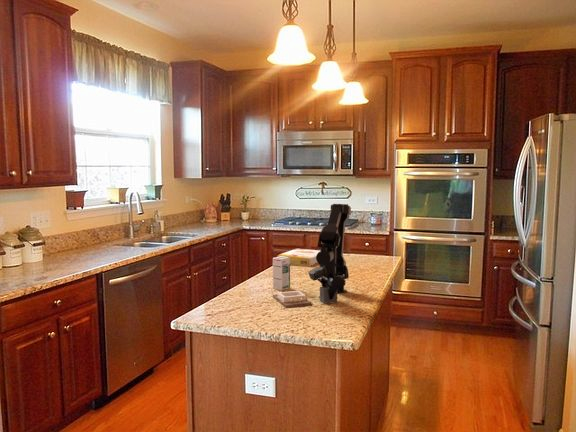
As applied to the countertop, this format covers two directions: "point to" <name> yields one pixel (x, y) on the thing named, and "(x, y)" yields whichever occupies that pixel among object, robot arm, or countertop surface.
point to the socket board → (292, 299)
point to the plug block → (326, 296)
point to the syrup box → (281, 273)
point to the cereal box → (301, 257)
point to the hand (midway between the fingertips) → (328, 298)
